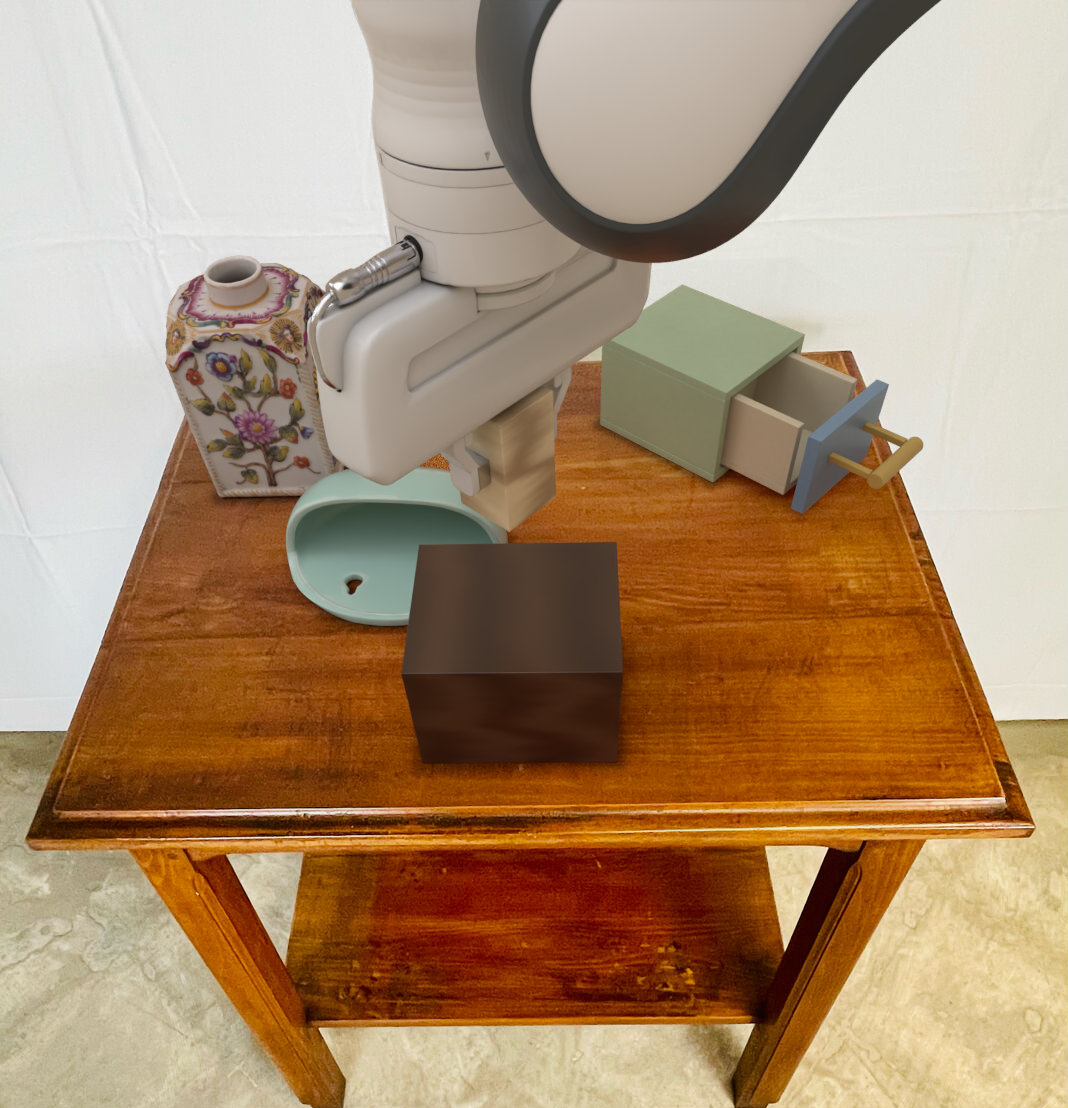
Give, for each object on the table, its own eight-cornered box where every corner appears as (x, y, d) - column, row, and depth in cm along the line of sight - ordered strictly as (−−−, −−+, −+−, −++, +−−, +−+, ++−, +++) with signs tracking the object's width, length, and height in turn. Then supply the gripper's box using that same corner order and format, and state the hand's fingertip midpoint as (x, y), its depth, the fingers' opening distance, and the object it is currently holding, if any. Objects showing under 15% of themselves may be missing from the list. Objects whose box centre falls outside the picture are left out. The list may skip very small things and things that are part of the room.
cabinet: (785, 424, 86) (805, 334, 79) (712, 483, 82) (726, 393, 74) (673, 372, 92) (682, 284, 85) (599, 425, 88) (602, 335, 80)
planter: (513, 428, 76) (492, 562, 66) (517, 498, 82) (498, 630, 72) (294, 424, 77) (243, 555, 68) (314, 493, 83) (270, 622, 74)
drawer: (918, 480, 80) (946, 407, 74) (855, 541, 75) (879, 468, 69) (752, 404, 87) (765, 332, 81) (686, 455, 83) (695, 383, 77)
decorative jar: (358, 421, 89) (315, 231, 75) (342, 497, 82) (292, 305, 68) (239, 424, 90) (174, 235, 75) (214, 500, 83) (136, 309, 68)
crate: (611, 638, 71) (616, 541, 63) (616, 762, 64) (623, 671, 56) (436, 640, 72) (418, 544, 64) (422, 763, 65) (400, 673, 57)
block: (508, 470, 55) (499, 363, 49) (556, 497, 53) (553, 390, 47) (460, 503, 53) (446, 396, 47) (509, 532, 51) (500, 425, 46)
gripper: (350, 323, 34) (407, 587, 45) (682, 140, 42) (661, 402, 54) (251, 271, 37) (329, 532, 48) (582, 108, 45) (582, 364, 56)
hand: (506, 463), depth 51 cm, fingers closed on block, 4 cm apart
